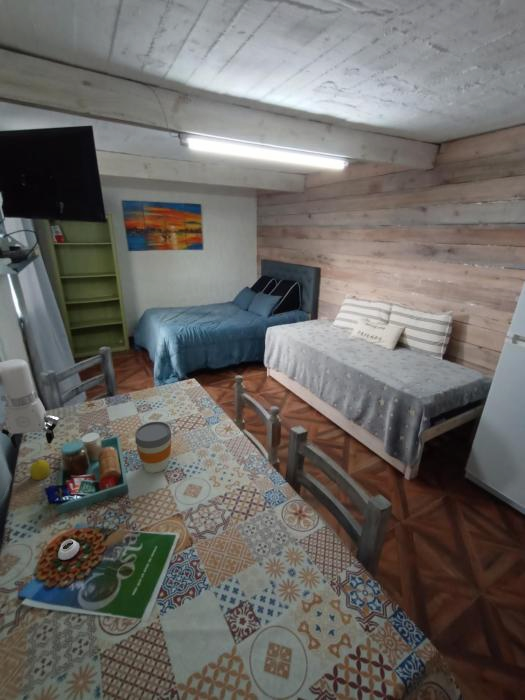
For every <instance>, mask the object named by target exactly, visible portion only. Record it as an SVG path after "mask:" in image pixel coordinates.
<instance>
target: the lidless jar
mask: <svg viewBox="0 0 525 700" xmlns="http://www.w3.org/2000/svg"><path fill="white" fill-rule="evenodd" d="M72 542H73V544H72V545H71V546H70V547H69V548H67V549H63V547H64V546H65V545H67V544H68V543H72ZM80 548H81V547H80V543H79V542H77V541H76V540H74V539H72V538H69V539H66V540H63V542H62V543H61V545H60V547H59V549H58V552H57V556H58V558H59V559H60V560H62V561H66V560H70V559H72V558H73V557H75V556H76V555H77V554H78V552H79V551H80Z"/></svg>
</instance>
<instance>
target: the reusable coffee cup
mask: <svg viewBox="0 0 525 700" xmlns="http://www.w3.org/2000/svg"><path fill="white" fill-rule="evenodd" d="M134 434H135V437H134V438H135V440H134V441H135V444H136V449H137V453H138V456H139V459H140V460H141V462H142V465H143V469H144V470H145V471H146V472H147V473H152V474H153V473H154V474H155V473H159V472H163V471H164V470H165V469H167V468H168V466H169V464H170V455H171V451H172V436H173V435H172V434H173V433H172V430H171V426H170V425H169V423H166V422H165V421H149V422H147V423H146V422H145V423H144V424H142V425H140V426H139V427H137V429H136V431H135V433H134Z"/></svg>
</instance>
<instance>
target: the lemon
mask: <svg viewBox="0 0 525 700" xmlns="http://www.w3.org/2000/svg"><path fill="white" fill-rule="evenodd" d="M29 473H30V476H31V478H32V479H34V480H35V481H40V480H44V479H45V478H47V477H49V475H50V474H51V467H50V464H49V463H48V462H47V461H46V460H44V459H38V460H36V461H34V462H33V463H32V464H31V466H30V469H29Z"/></svg>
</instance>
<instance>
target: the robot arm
mask: <svg viewBox="0 0 525 700" xmlns="http://www.w3.org/2000/svg"><path fill="white" fill-rule="evenodd" d="M0 386H1V389H2V392H3V395H2V396H0V401H3V402H5V404H4V405H3V406H4V407H3V409H4V410H3V411H4V418H5V419H4V420H3V421H1V422H0V431H1V433H2V434H4V435H5V436H7V438H9V439H10V442H11V444H12V445H13V448H18V447H19V446H20V444H21V443H22V440H21V436H20V434H26V433H28V434H29V433H35V432H41V431H44V432H45V438H46V442H47V444H52V442H53V440H54V439H55V434H54V429H56V427H57V425H58V423H59V420H60V418H59V417H57V416H54V415H50V414H47V411H46V409H45V406H44V405H43V402H42V401H41V399H40V397H37V393H36V390H35V387H34V382H33V379H32V376H31V372H30V368H29V365H28V362H27V361H26V360H25V359H22V358H14V359H13V358H12V359H8V360H7V359H6V360H4V361H0ZM50 422H52V423H50Z"/></svg>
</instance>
